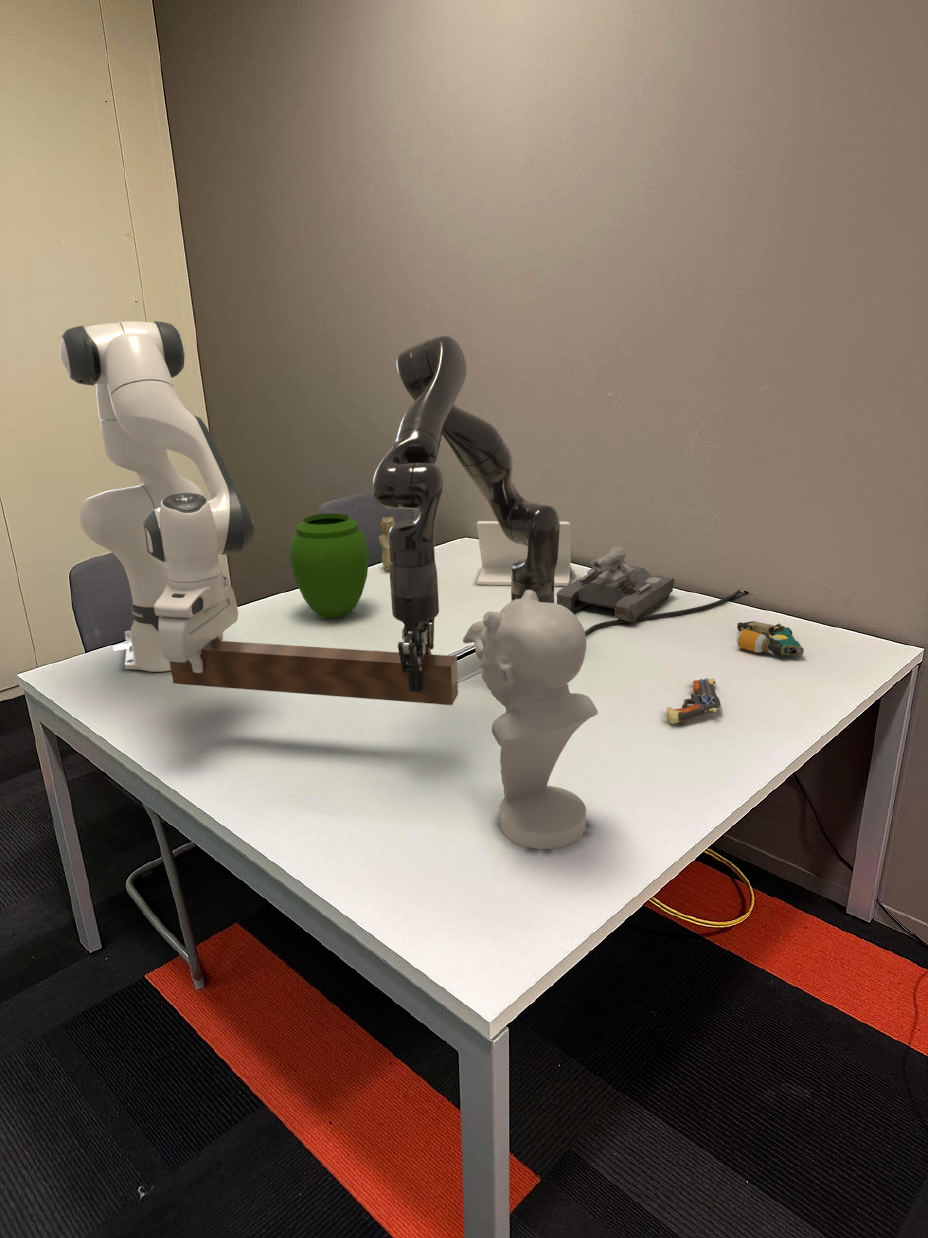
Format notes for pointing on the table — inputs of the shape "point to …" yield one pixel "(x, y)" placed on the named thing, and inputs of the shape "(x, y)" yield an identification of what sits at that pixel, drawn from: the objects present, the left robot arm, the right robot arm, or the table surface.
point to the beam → (319, 672)
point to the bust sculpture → (534, 714)
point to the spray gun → (767, 638)
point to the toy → (617, 588)
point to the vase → (329, 563)
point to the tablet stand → (515, 555)
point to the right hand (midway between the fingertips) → (420, 684)
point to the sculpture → (386, 541)
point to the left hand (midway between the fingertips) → (207, 664)
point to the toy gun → (696, 702)
